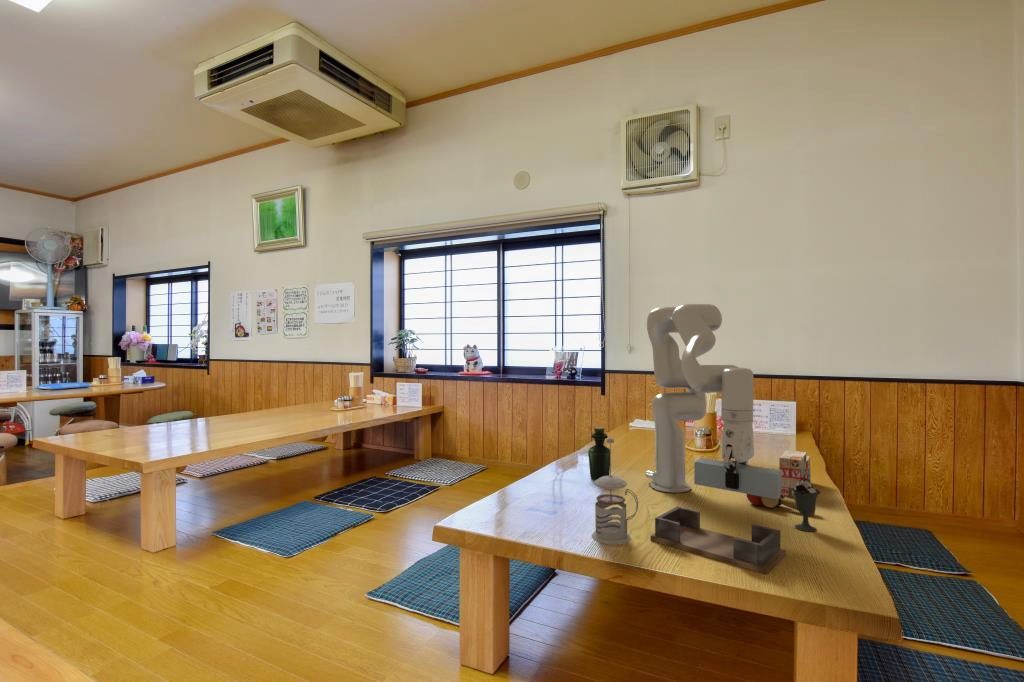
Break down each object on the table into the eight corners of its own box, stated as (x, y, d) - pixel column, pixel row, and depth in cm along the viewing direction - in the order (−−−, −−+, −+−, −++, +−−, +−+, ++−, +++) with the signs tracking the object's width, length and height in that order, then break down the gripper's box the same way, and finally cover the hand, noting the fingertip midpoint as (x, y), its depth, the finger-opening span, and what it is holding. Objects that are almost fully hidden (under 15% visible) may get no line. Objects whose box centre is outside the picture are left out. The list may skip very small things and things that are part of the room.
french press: (595, 527, 136) (595, 433, 136) (640, 533, 132) (640, 435, 132) (587, 541, 127) (586, 440, 127) (635, 548, 122) (634, 443, 122)
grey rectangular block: (694, 484, 137) (694, 461, 137) (700, 479, 141) (700, 457, 141) (777, 499, 125) (777, 474, 125) (781, 494, 129) (781, 470, 129)
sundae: (810, 523, 138) (809, 467, 138) (826, 533, 131) (825, 474, 131) (785, 524, 137) (785, 467, 137) (800, 533, 131) (800, 474, 131)
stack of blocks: (790, 480, 180) (790, 445, 179) (810, 483, 176) (810, 447, 176) (779, 495, 162) (779, 456, 162) (801, 499, 159) (801, 459, 159)
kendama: (816, 516, 147) (750, 495, 159) (819, 496, 146) (752, 476, 158) (809, 528, 142) (741, 505, 153) (812, 507, 140) (743, 486, 152)
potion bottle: (610, 475, 187) (610, 425, 187) (612, 481, 179) (611, 429, 179) (587, 474, 188) (587, 425, 188) (588, 481, 180) (588, 429, 180)
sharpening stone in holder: (650, 540, 127) (650, 517, 127) (675, 526, 137) (675, 505, 136) (766, 574, 108) (766, 547, 108) (785, 555, 118) (785, 531, 118)
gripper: (739, 422, 124) (738, 496, 124) (764, 413, 136) (763, 481, 136) (708, 418, 129) (708, 490, 129) (735, 410, 141) (734, 475, 142)
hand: (736, 484), depth 133 cm, fingers closed on grey rectangular block, 5 cm apart
